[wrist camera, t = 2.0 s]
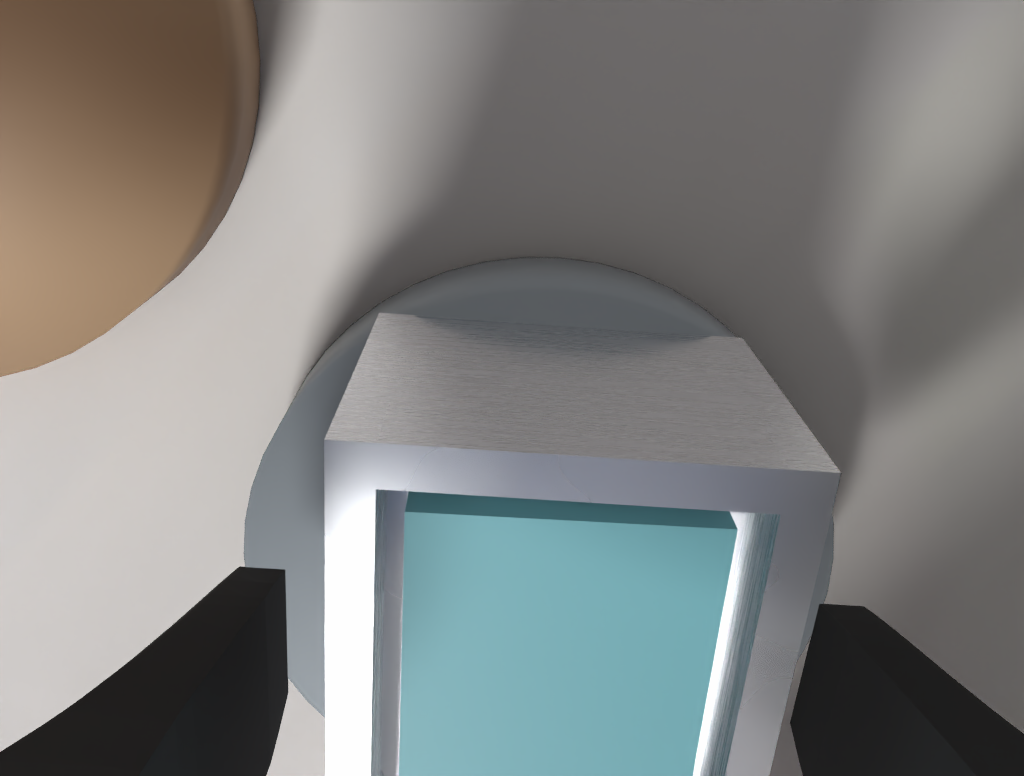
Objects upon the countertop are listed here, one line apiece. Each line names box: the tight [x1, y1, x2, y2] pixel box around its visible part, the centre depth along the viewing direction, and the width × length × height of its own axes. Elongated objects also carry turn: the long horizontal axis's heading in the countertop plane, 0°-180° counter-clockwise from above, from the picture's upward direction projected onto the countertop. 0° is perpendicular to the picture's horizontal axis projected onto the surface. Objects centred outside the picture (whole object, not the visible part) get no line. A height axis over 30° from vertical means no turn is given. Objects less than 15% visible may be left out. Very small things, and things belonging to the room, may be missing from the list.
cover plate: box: [399, 491, 738, 776], centre depth 11 cm, size 6×3×1 cm, turn 176°
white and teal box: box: [324, 313, 841, 776], centre depth 12 cm, size 8×5×4 cm, turn 176°
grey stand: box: [244, 258, 834, 718], centre depth 15 cm, size 9×9×2 cm
